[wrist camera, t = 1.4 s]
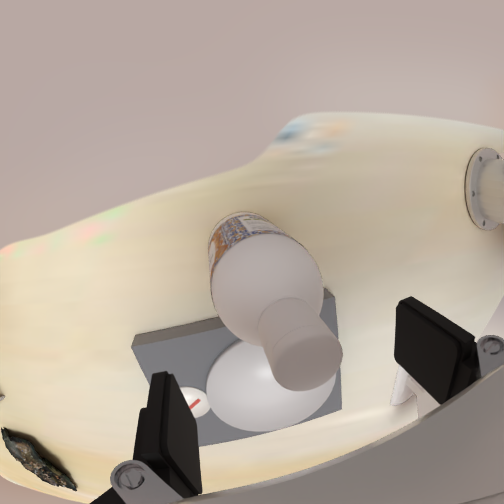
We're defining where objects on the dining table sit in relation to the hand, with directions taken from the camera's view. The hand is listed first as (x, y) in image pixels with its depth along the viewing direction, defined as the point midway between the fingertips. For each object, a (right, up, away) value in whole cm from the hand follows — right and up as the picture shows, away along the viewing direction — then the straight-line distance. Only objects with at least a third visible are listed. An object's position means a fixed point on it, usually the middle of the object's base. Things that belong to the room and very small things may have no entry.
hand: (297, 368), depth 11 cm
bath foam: (-3, +5, +19) cm, 20 cm away
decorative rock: (-44, -36, +24) cm, 62 cm away
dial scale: (-2, -11, +23) cm, 26 cm away
